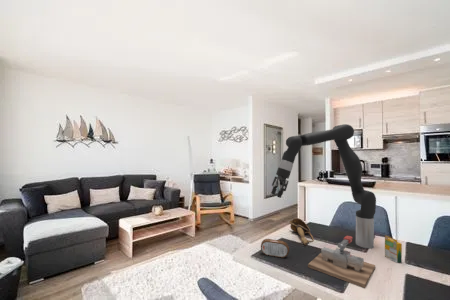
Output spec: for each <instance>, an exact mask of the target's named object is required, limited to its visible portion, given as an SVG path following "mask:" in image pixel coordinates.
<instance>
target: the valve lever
mask: <svg viewBox="0 0 450 300" xmlns="http://www.w3.org/2000/svg"><path fill="white" fill-rule="evenodd" d="M352 242H353V236H351V235H346V236H344V237H343V239H342V241H340V242H338V243H337V247H338V249H340V252H344V250H345V249H346V246H348V244H351V243H352Z"/></svg>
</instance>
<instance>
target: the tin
mask: <svg viewBox="0 0 450 300" xmlns="http://www.w3.org/2000/svg"><path fill="white" fill-rule="evenodd" d="M260 251H261V252H262V253H263V255H265V256H268V255H269V257H274V256H275V258H280V257H281V259H282V258H286V257H287V256H288V255H289V252H290V247H289V244H288V243H287V242H286V241H283V240H278V239H271V238H265V239H263V240H262V242H261V244H260Z"/></svg>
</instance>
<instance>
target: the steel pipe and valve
mask: <svg viewBox="0 0 450 300" xmlns="http://www.w3.org/2000/svg"><path fill="white" fill-rule="evenodd" d="M320 251H321V252H320V253H321V256H322V257H324V260H325V261H329V260H330V259H331V260H333V265H335V266H338V267H341V268H344V269H347V268H348V267H349V265H350V266H353V267H355V271H358V272H360V271H361V269H362V268H363V267H364V262H365V258H363V257H359V256H356V255H353V254H351V252H350V251H348V250H345V249H344V252H340V248H339V247H338V248H336V249H332V248H329V247H326V246H325V247H324V246H323V247H322V248H321V250H320Z"/></svg>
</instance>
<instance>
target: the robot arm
mask: <svg viewBox="0 0 450 300" xmlns="http://www.w3.org/2000/svg"><path fill="white" fill-rule="evenodd" d="M354 134H355V130H354V127H353V126H352V125H350V124H339V125H336V126H334V127H332V128H331V129H327V130H320V131H314V132H308V133H305V134H300V135H294V136H289V137H288V138H287V139H286V140H285V145H286V147H287V149H286V150H285V151H284V152H283V153H282V157H281V160H280V162H279V165H278V168H277V170H276V172H275V175H277V176H274V178H273V180H272V183H271V186H272V189H271V194H272V195H276V192H277V195H276V196H277V198H279V199H280V198H282V196H283V192H286V191H287V188H288V184H289V183H290V182H289V180H287V179H290V176H291V172H292V170H293V167H294V163H295V160H296V156H297V155H298V153H299V151H300V149H301V148H302V147H303V146H304V147H306V146H312V145H317V144H320V143H326V142H330V141H334V143H335V145H336V148H337V149H338V152H339V153H338V154H339V156H340V158H341V161H342V165H343V167H344V170H345V171H344V172H345V173H346V177H347V180H348V182H349V186H350V190H351V196H352V199H353V200H354V202H355V203H356V204H358V205H360V209H357V210H356V211H355V245H356V246H357V247H361V248H364V249H373V248H374V244H375V243H374V242H375V241H374V240H375V237H374V235H375V234H374V233H375V232H374V231H375V229H374V228H375V227H374V226H375V225H374V224H375V221H374V220H375V217H374V216H375V214H376V207H377V198H376V195H375V193H374V192H372V191H370V190H366V189H365V188H364V186H363V183H362V176H363V172H364V171H363V165H362V163H361V159H360V157H359V156H358V154H356V152H355V151H354V150H353V149H352V147H351V146H350V144H349V142H348V140H350V139H351V138H352V137H353V136H354ZM277 189H278V191H277Z"/></svg>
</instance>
